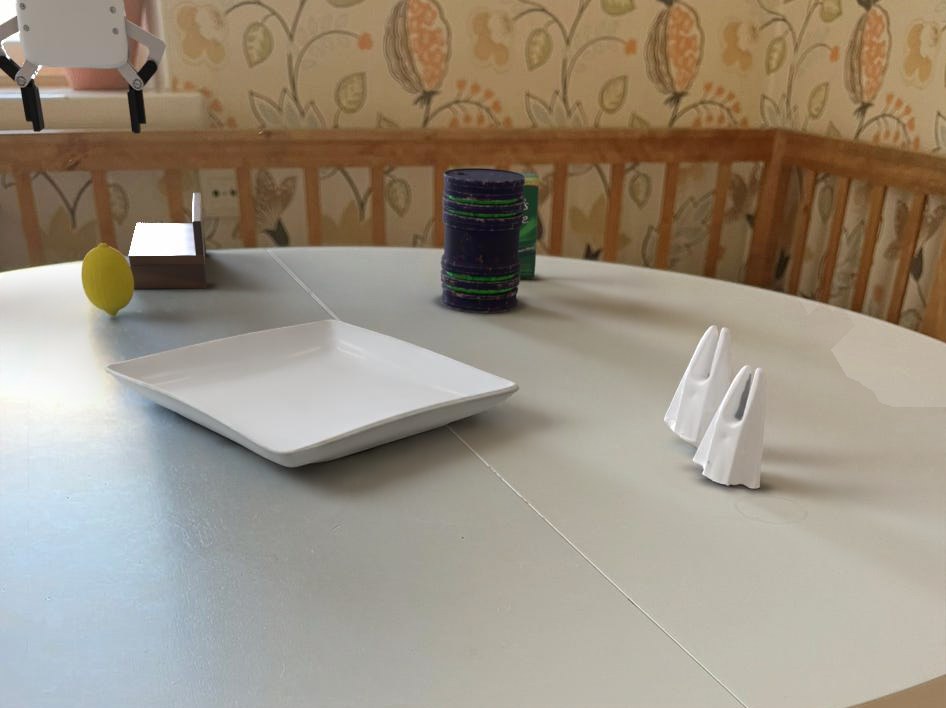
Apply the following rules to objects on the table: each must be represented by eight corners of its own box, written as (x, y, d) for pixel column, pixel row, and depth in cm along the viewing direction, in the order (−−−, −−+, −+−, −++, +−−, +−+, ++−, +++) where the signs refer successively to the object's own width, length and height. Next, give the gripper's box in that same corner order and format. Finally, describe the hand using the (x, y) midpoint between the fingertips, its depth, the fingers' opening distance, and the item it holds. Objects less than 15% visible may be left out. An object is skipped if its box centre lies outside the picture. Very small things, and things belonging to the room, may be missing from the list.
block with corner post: (140, 253, 147) (132, 192, 143) (206, 253, 149) (200, 192, 145) (132, 288, 131) (124, 220, 126) (207, 287, 132) (200, 221, 128)
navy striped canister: (522, 296, 136) (530, 171, 128) (513, 316, 127) (521, 183, 119) (447, 290, 137) (450, 166, 129) (433, 309, 128) (435, 177, 120)
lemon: (86, 323, 117) (75, 248, 113) (88, 310, 121) (77, 238, 117) (138, 322, 118) (128, 248, 114) (138, 309, 123) (129, 237, 119)
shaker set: (658, 438, 94) (675, 313, 88) (701, 435, 95) (721, 312, 89) (716, 492, 85) (739, 356, 79) (763, 488, 86) (789, 354, 80)
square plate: (286, 497, 80) (283, 449, 78) (103, 403, 96) (96, 361, 94) (522, 418, 97) (524, 377, 95) (333, 349, 113) (332, 312, 111)
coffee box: (476, 278, 143) (480, 174, 136) (474, 273, 145) (478, 171, 138) (534, 280, 143) (541, 176, 136) (531, 275, 146) (538, 173, 139)
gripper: (155, -62, 104) (175, 128, 113) (-30, -71, 101) (5, 125, 110) (152, -64, 98) (173, 137, 107) (-46, -74, 95) (-7, 134, 104)
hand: (88, 131), depth 109 cm, fingers open, 9 cm apart
